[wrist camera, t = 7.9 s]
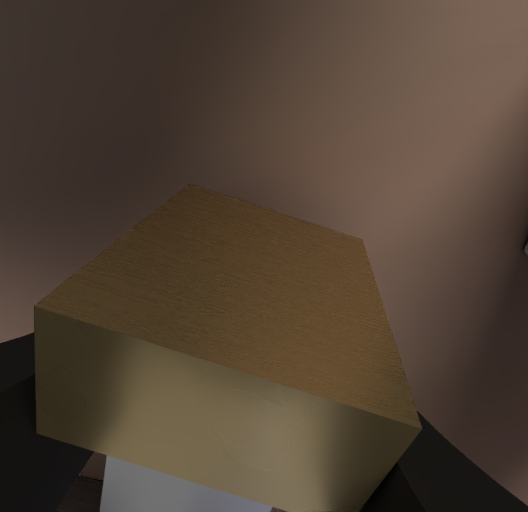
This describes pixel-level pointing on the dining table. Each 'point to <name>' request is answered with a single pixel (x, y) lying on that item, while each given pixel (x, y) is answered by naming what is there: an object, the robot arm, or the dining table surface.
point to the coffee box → (526, 249)
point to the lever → (225, 364)
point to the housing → (82, 496)
